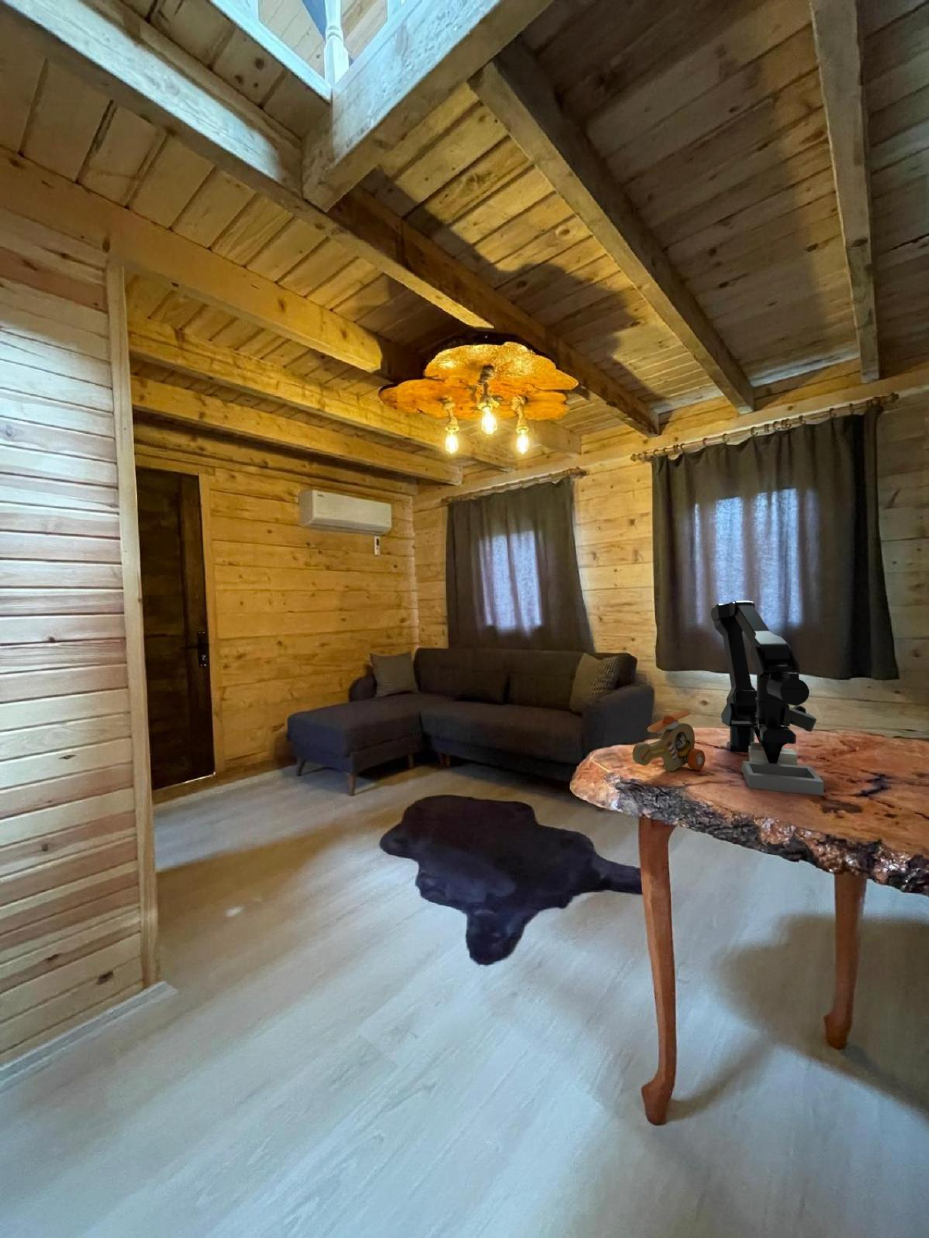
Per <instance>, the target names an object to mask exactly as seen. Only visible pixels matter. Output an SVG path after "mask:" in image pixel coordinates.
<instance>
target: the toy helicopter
mask: <svg viewBox="0 0 929 1238" xmlns="http://www.w3.org/2000/svg"><path fill="white" fill-rule="evenodd" d="M691 712H692V711H691V710H689V709H682V710H679V711H678V712H674V713H673V714H666V715H664V716H663V719H661V720H659V721H657V722H655V723H653V724H652V725H650V726H648V727H647V728H646V729H647V732H648V733H652V734H654V733H656V732H658V731H660V730H663V729H665V731H664V732H663V734H662V736H661V738H660V739H659V740H655V741H653V742H651V743H645V742H638V743H636V744H635V745H634V746H633V749H632V752H631V753H632V759H633V761H634V763H635V764H637V765H641V766H647V765H649V764H650V763H651V762H652V760H654V759H658V758H661V760H662V761H663V768H664V770H665V771H667V770H669V771H668V772H670V771H674V770H675V771H676V770H677V768H680V767H684V766H685V765H686V764H687V766H688V767H689V768H690V769H691V770H694V771H697V770H699V771H701V770H702V769H703V768H704V767H705V764H706V755H705V752H704V751H703V749H700V748H695V745H696V736H695V735H696V734H695V731H694V728H693V727H692V726H691V725H690V724H689V723H687V722H679V720H680V719H682V718H686V717H687V716H690V715H691ZM675 771H674V772H675Z"/></svg>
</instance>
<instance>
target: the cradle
mask: <svg viewBox="0 0 929 1238" xmlns="http://www.w3.org/2000/svg"><path fill="white" fill-rule="evenodd" d="M742 775H743V777H744V780H745V782H746V785H747V787H748V788H749V789H753V790H754V789H755V790H763V791H764V790H765V791H773V792H774V791H775V792H782V793H794V794H804V795H813V796H824V781H823V779H822V778H821V777H820V776H819V775H818V773H816V771H815V769H814V768H812V766H810V765H809V766H808V765H798V764H797V765H785V764H774V763H762V762H750V761H749V760H748V761H747V760H742Z"/></svg>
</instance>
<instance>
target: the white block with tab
mask: <svg viewBox="0 0 929 1238" xmlns="http://www.w3.org/2000/svg"><path fill="white" fill-rule="evenodd" d="M748 761H750V762H762V763H769V762H768V759H767V757H766V754H765V752H764V749H763V747H761V743H759V742H756V741H755V742H751V746H749V751H748ZM777 764H785V765H797V766H798V753H797V752H796V751H795V750H794V749H792V748H782V749H781V752H780V755H779V759H778V762H777Z"/></svg>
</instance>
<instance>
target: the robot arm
mask: <svg viewBox="0 0 929 1238" xmlns="http://www.w3.org/2000/svg"><path fill="white" fill-rule="evenodd" d="M710 617H711V620H712V621H713V626H714V629H715V630H716V631H717V632H718V633H719V634H720V635H721V636H722V639H723V645H724V652H725V657H726V663H727V669H728V675H729V682H730V687H731V688H730V690H729V692H728V695H727V697H726V700H725V701H726V704H725V706H724V707H723V710H722V712H721V714H720V718H721V723H722V724H723V725H726V727H729V741H726V744H727V746H728V750H730V751H739V752H749V746H751V742H756V741H755V740H756V739H755V737H756V738H757V741H758V743H761V747H763V749H764V752H765V754H766V757H767V759H768V762H769V763H774V764H777V762H778V759H779V755H780V752H781V749H783V747H784V746H785V745H796V744H797V734H796V733H795V732H794V731H793V730H792V729H791V728H790V727H791V725H792V726H795V727H797V728H800V729H803V730H805V731H806V732H810V733H812V731H813V730H814V727H815V725H816V723H817V720H818V719H817V718H816V717H815V716H814V715H812V714H810V713H807V710H806V708H805V707H804V706H803V704H804V703H806V702H807V700H808V699H809V696H810V688H809V686H808V685H807V683H806V681H804V680H802V679H800V674H801V671H800V664H799V662H798V660H797V658H796V655H794V652H793V649H792V647H791V646H790V645H789V643H788V642H787V641H785V639H784V638H783V637H782V636H779V635H776V634H774V633H772V631H771V630H770V628H769V627H768V626H767V625H766V623H765V622H764V619H762V616H760V614H759V612H758V611H757V609H756V606H755V603H754V601H751V600H733V601H730V602H729V603H716V604H715V606H714V607H712V608H711V610H710ZM743 634H745V635H743ZM744 636H746V637H747V638H746V639H747V640H748V641H749V643H750V648H749V656H750V660H751V661H752V664H753V666H755V670H754V671H753V672H754V674H756V689H755V687H754V686H753V685H752V679H751V678H752V677H751V673H750V669H749V662H748V656H747V650H746V646H745V640H744ZM792 706H793V707H792Z"/></svg>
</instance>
